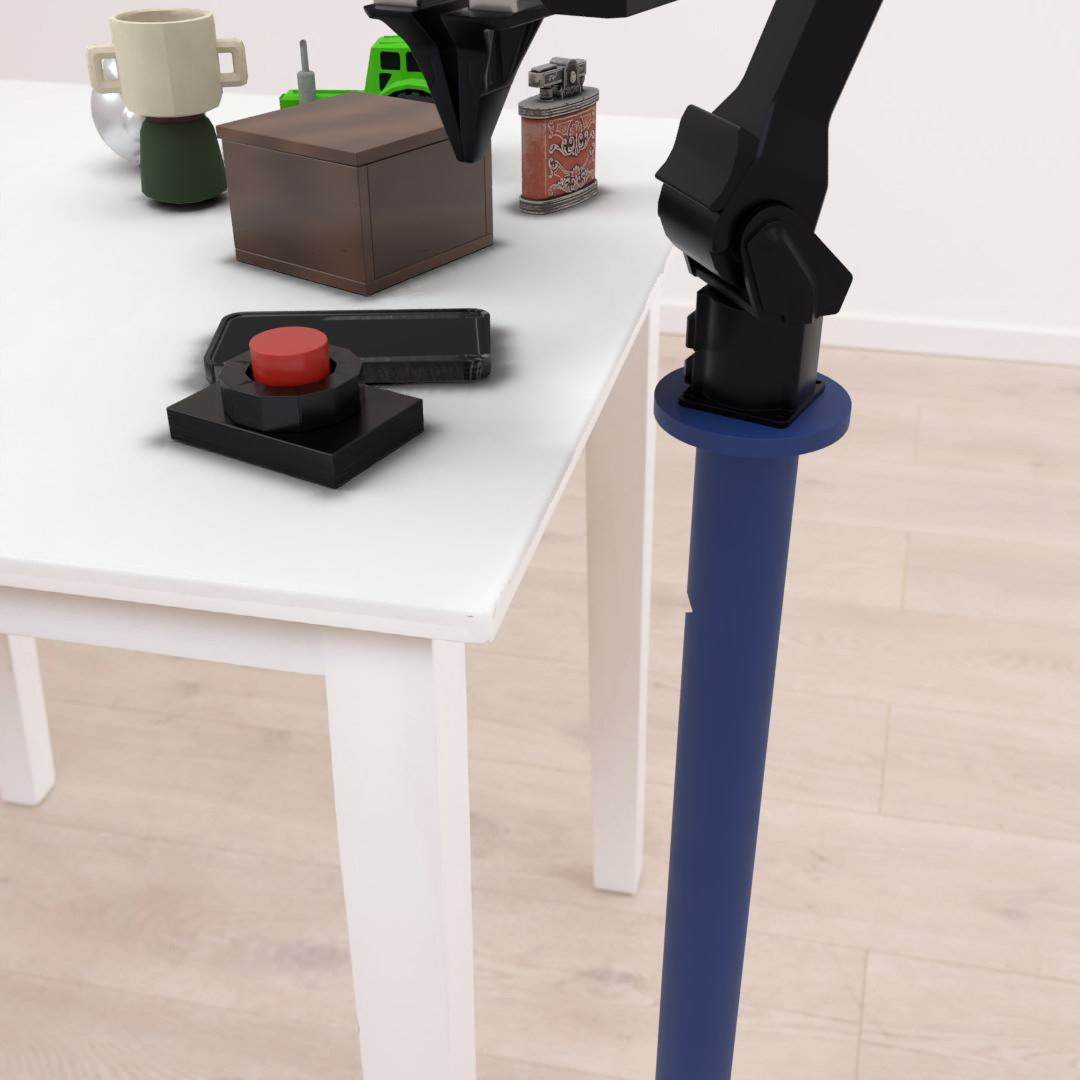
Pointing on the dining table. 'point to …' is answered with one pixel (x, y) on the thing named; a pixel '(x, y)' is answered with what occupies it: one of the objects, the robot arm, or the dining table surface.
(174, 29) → the cream and green trophy
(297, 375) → the button
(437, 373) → the phone
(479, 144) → the robot arm
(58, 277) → the dining table surface
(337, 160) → the lid
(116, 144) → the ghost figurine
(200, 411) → the button base
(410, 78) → the toy tractor
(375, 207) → the chest
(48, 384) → the dining table surface
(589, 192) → the lighter
